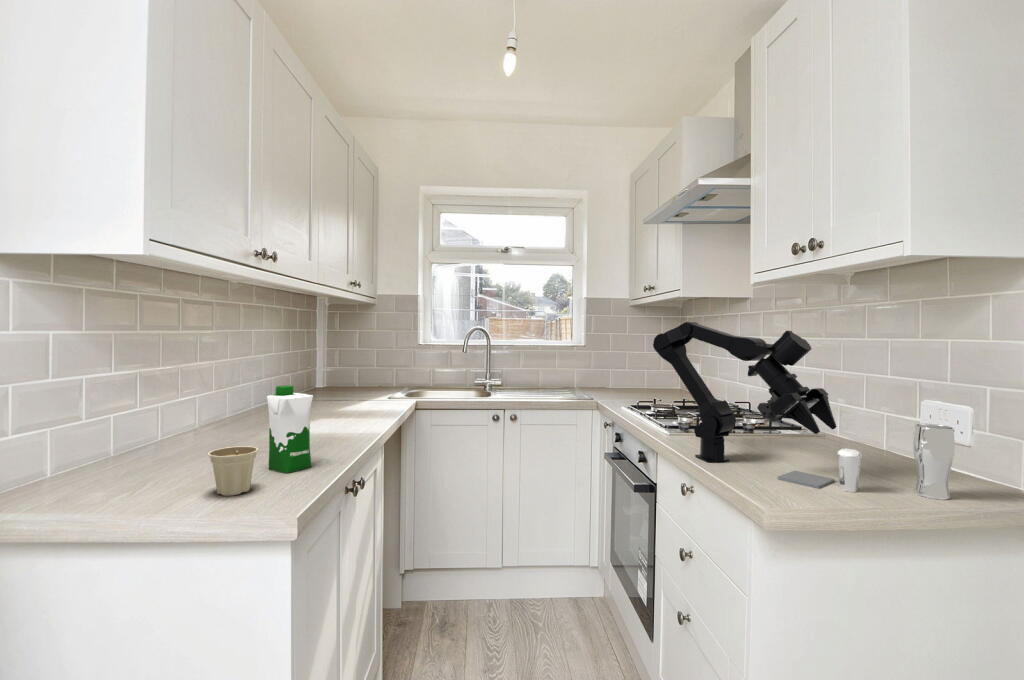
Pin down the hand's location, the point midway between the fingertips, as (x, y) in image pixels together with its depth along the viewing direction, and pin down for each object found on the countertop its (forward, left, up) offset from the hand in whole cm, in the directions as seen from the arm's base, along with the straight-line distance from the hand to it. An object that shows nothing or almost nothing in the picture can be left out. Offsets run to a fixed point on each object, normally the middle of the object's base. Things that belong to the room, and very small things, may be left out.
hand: (826, 430), depth 122 cm
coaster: (-4, -2, -12) cm, 13 cm away
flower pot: (-17, -130, -13) cm, 131 cm away
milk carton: (-34, -122, -13) cm, 127 cm away
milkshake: (+5, +2, -13) cm, 14 cm away
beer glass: (+11, +17, -13) cm, 24 cm away
